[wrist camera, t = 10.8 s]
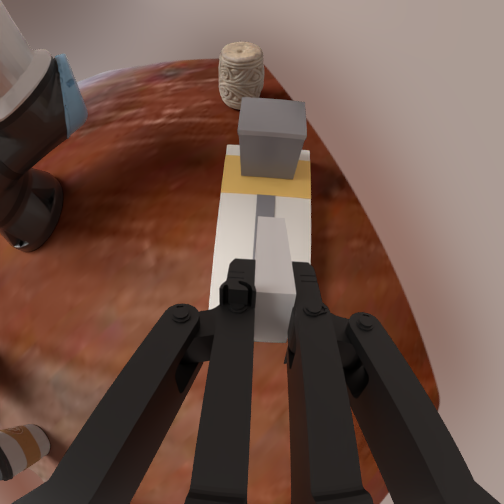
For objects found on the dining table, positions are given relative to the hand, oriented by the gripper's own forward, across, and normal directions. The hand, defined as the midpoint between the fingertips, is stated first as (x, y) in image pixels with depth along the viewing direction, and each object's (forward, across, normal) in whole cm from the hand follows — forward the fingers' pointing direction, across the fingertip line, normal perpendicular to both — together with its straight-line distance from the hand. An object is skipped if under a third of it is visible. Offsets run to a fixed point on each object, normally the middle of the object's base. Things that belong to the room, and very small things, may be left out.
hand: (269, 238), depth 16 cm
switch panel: (+19, 0, -10) cm, 22 cm away
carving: (+38, -5, +7) cm, 39 cm away
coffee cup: (-8, -37, -38) cm, 54 cm away
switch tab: (+24, 0, -1) cm, 24 cm away
